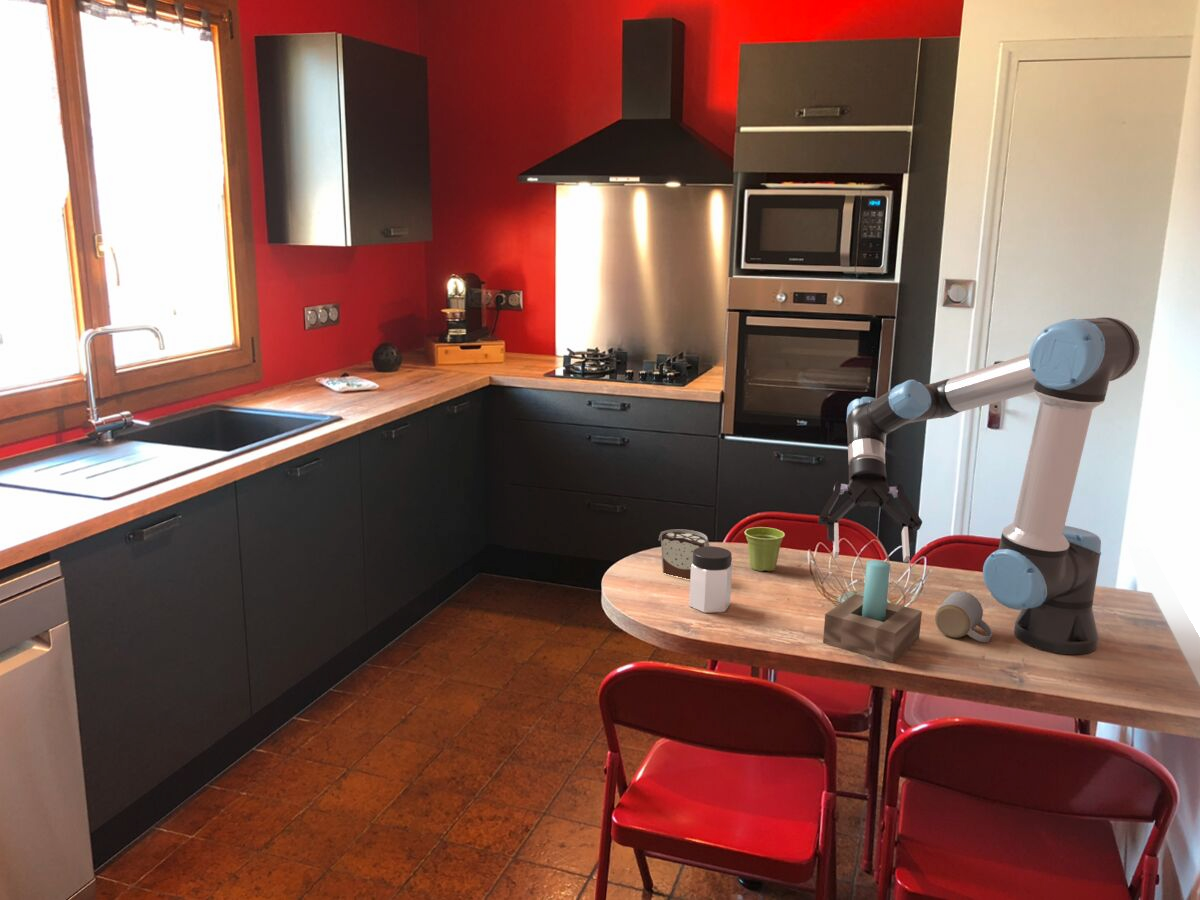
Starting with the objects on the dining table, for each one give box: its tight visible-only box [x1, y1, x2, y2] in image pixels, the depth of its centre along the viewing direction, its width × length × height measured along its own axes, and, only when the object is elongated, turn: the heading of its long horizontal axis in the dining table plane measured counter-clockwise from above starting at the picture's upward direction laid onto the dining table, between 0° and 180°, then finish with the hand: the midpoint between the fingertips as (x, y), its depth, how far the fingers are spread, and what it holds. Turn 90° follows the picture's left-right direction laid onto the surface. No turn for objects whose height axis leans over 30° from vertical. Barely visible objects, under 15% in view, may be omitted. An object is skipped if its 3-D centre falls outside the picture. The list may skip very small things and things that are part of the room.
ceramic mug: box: [934, 591, 994, 643], centre depth 198 cm, size 11×8×8 cm
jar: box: [688, 545, 733, 614], centre depth 209 cm, size 9×8×12 cm
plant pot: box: [744, 526, 786, 572], centre depth 234 cm, size 9×9×9 cm
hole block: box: [822, 593, 923, 664], centre depth 194 cm, size 14×14×6 cm
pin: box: [862, 559, 891, 622], centre depth 192 cm, size 4×4×15 cm
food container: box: [658, 528, 710, 579], centre depth 228 cm, size 12×6×10 cm, turn 58°
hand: (871, 557), depth 196 cm, fingers open, 13 cm apart
